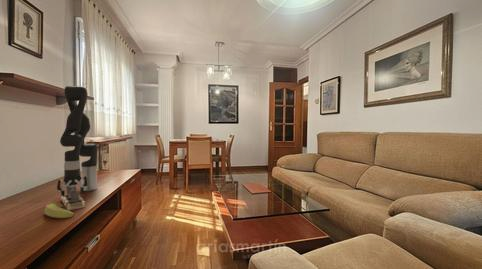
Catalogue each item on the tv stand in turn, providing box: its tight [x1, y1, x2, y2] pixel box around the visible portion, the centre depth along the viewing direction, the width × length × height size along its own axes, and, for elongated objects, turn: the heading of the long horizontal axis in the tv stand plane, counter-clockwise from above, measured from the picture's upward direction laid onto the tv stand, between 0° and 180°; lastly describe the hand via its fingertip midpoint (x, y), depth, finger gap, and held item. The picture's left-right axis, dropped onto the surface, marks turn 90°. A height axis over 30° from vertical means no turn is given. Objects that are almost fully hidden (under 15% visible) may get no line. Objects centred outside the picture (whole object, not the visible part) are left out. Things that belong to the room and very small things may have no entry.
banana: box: [44, 202, 75, 219], centre depth 117 cm, size 14×6×20 cm
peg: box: [69, 185, 77, 200], centre depth 131 cm, size 4×4×10 cm
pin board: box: [61, 185, 86, 211], centre depth 131 cm, size 23×8×9 cm, turn 46°
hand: (72, 194), depth 131 cm, fingers open, 8 cm apart
